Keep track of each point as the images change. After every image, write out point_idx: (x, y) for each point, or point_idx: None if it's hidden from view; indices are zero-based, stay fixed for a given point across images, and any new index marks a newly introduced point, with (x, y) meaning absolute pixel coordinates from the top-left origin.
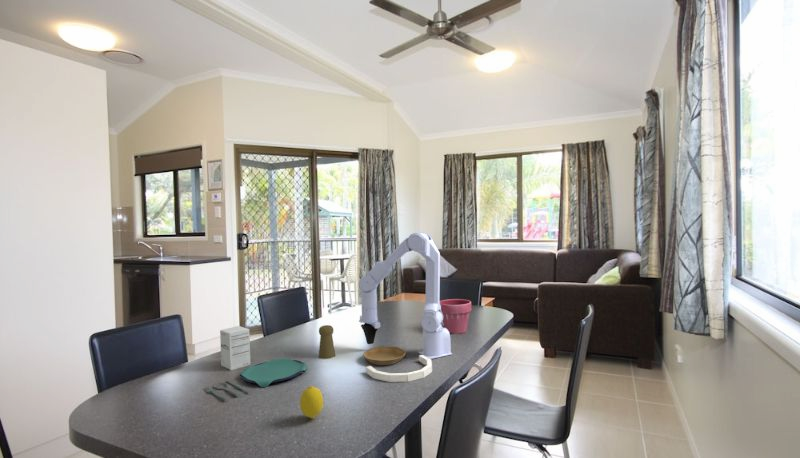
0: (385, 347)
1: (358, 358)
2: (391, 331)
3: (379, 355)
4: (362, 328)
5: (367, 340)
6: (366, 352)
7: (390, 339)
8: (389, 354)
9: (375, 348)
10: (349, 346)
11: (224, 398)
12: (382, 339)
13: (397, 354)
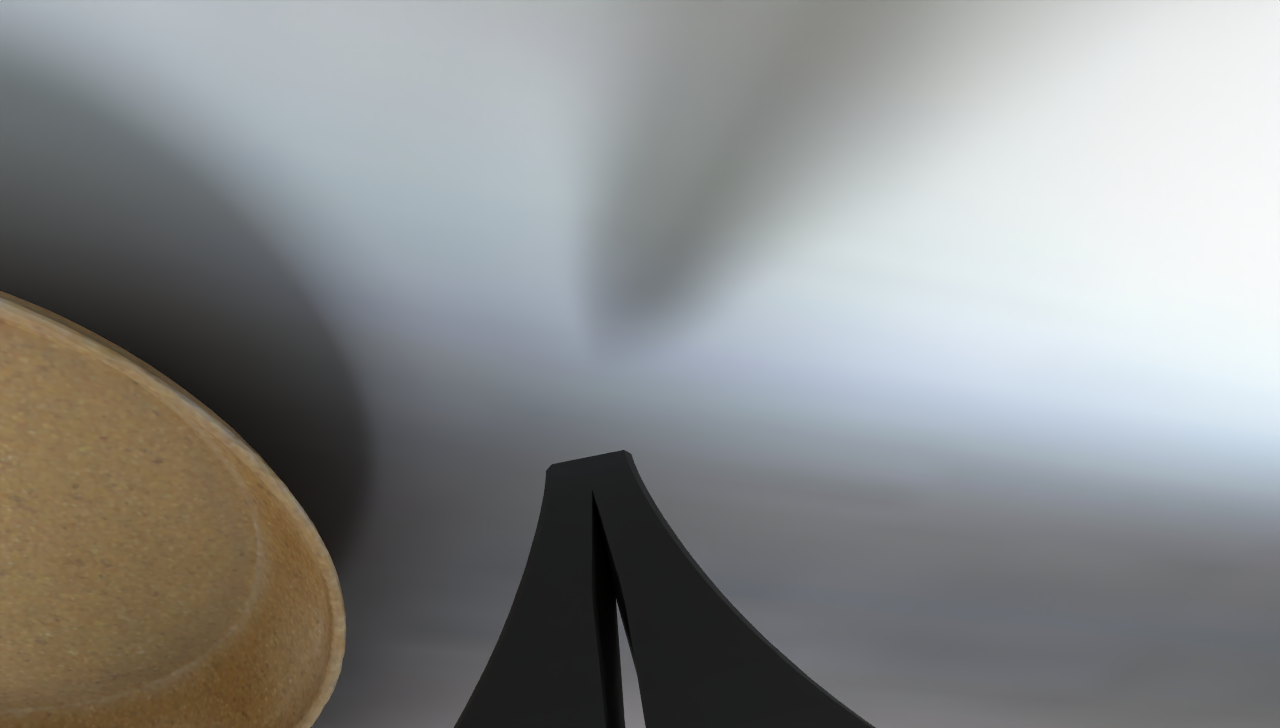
0: (322, 663)
1: (82, 80)
2: (1224, 714)
3: (187, 493)
4: (804, 703)
5: (553, 514)
6: (52, 329)
7: (943, 682)
8: (215, 619)
9: (301, 528)
10: (1078, 72)
11: None
12: (1017, 611)
13: (146, 707)
